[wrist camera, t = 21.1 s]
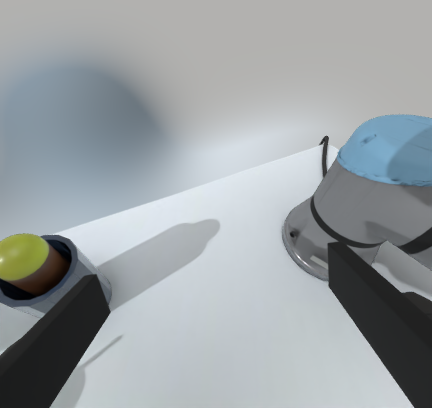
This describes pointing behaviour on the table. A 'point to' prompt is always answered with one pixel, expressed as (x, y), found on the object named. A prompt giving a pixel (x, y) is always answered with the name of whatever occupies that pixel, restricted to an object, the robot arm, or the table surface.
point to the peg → (31, 263)
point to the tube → (44, 303)
